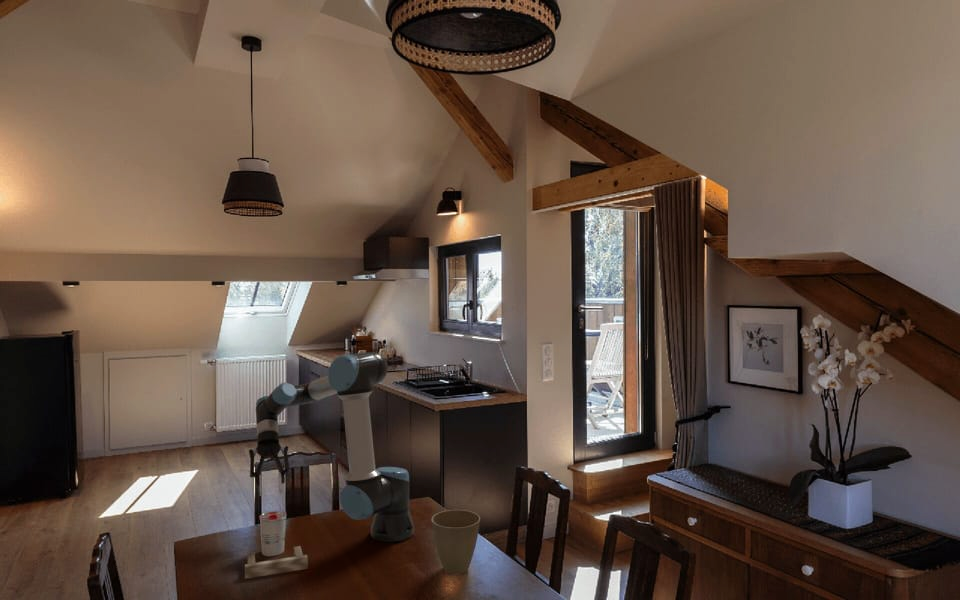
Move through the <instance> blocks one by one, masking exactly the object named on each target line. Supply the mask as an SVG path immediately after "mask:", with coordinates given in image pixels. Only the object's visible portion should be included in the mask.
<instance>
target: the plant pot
mask: <svg viewBox="0 0 960 600" xmlns="http://www.w3.org/2000/svg"><path fill="white" fill-rule="evenodd" d="M480 522H481V517H480V515H479V514H477V513H476V512H473V511H470V510H464V509H448V510H443V511H439V512H437V513H436V514H433V516H432V517H431V526H432V533H433V537H434V539H433V540H434V543H435V547H436V550H437V554H438V558H439V560H440V564H441V566H442V568H443V572H444V573H446V574H448V573H449V574H448V575H451V574H460V575H463V574H465V573H467V572H468V571H469V567H470V565H471V563H472V560H473V557H474V553H475V550H476V546H477V545H476V544H477V540H478V536H479V530H480ZM467 570H468V571H467ZM466 571H467V572H466ZM462 573H463V574H462Z"/></svg>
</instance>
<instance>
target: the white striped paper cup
mask: <svg viewBox="0 0 960 600" xmlns="http://www.w3.org/2000/svg"><path fill="white" fill-rule="evenodd" d="M258 519H259V523H260V541H261V542H260V545H261V546H260V547H261V554H262V556H265V557H276V556H279V555H282V554H283V553H284V552H285V542H286V541H285V540H286V523H287V521H288V520H289V519H288V518H287V513H286V512H285V511H281V510H273V511H267V512H264V513H262V514H260V515H259V518H258Z"/></svg>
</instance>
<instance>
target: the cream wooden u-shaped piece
mask: <svg viewBox="0 0 960 600" xmlns="http://www.w3.org/2000/svg"><path fill="white" fill-rule="evenodd" d="M308 559H309V557H308V555H307V554H305V555H304V554H303V551H302V547H301V545H298V546H293V556H290V557H285V558H284V557H283V558H278V559H276V558H275V559H272V560H264V561H259V562H258V561H257V562H256V555H255V552H250V553H247V563H246V564H244V579H245V580H246V578H247V579H253V578H258V577H259V578H260V577H263V576H264V577H266V576H270V575H277V574H278V575H279V574H283V573H291V572H295V571H302V570H306V569H308V566H309V563H308V561H309V560H308Z"/></svg>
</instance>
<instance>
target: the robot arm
mask: <svg viewBox="0 0 960 600" xmlns="http://www.w3.org/2000/svg"><path fill="white" fill-rule="evenodd" d="M388 367H389V366H388V362H387V361H386V358H385V357H384V356H383V355H381V354H380V353H378V352H373V351H366V352H358V353H347V354H343V355H339V356H337V357H336V358H334V359H333V360H332V362H331V363H330V365H329V367H328V371H327V372H328V373H327V375H326V376H323V377H319V378H317V379H315V380H311V381H310V382H307V383H304V384H299V385H293V384H291V383H289V382H281V383H280V384H278V386H276V387H275V388H274V389H273V390H272V391H271V393H270V394H269V395H263V396H262V397H258V399H257V401H256V402H255V418H256V422H255V423H256V435H257V436H256V440H257V441H256V443H257V446H256V448H255V449H249V450H248V455H249V459H250V462H249V463H250V469H249V477H250V478H251V479H253V478H254V479H255V487H259V497H262V496H263V479H262V478H263V475H262V474H261V473H262V469H263V465H264V462H265V460H268V459H272V460H273V461H274V464H275V466H276V469H277V470H278V475H277V476H278V478H277V479H278V492H279V493H278V494H279V495H282V492H283V485H284V484H285V481H286V480H285V479H286V477H285V475H286V474H287V475H288V474H289V473H290V464H289V463H290V462H289V455H288V453H289V446H288V445H287V446H285V447H284V446H282V445H281V444H280V435H279V422H278V420H279V419H278V417H279V415H280V414H281V413H282V412H283V411H284V410H285V409H286V408H291V407H296V406H301V405H307V404H313V403H317V402H319V401H321V400H322V399H324V398H328V397H331V396H333V395H337V397H338V398H339V399H340V400H341V401H342V407H343V409H342V410H343V417H344V419H343V420H344V429H345V439H346V440H345V441H346V447H347V460H348V461H347V462H348V469H349V472H348V474H347V475H346V477H345V486H344V487H343V488H342V489H341V492H340V493H339V502H340V506H341V508H342V510H343V512H344V513H345V514H346V515H347V516H348V517H349V518H350V519H353V520H355V521H357V520H358V521H359V520H363V519H369V518H370V517H371V516H373V515H374V517H373V520H372V524H371V526H370V537H371V538H372V539H373V540H375V541H378V542H383V543H396V542H402V541H406V540H408V539H410V538H412V537H413V536H414V534H415V527H414V522H413V519H412V516H411V513H410V474H409V471H408V470H407V469H405V468H401V467H396V466H395V467H394V466H382V467H378V468H376V462H375V461H376V460H375V451H374V441H373V440H374V439H373V432H372V431H373V429H372V420H371V410H370V400H369V397H370V395H371V394H372V393H373V386H374V385H377V384H379V383H382V382H383V380H384V379H385V378H386V377H387V374H388V369H389V368H388ZM280 452H281V454H282V457H283V464H284V465H282V462H281V460H280V457H279V455H278V454H279V453H280ZM257 454H258V455H259V457H260V459H259V462H258V465H257V468H256V471H255V456H256V455H257ZM283 466H284V467H283ZM282 484H283V485H282ZM412 535H413V536H412ZM409 537H410V538H409ZM407 538H408V539H407ZM405 539H406V540H405Z"/></svg>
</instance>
